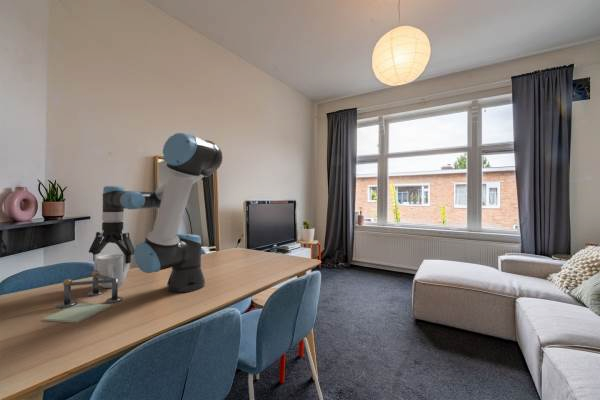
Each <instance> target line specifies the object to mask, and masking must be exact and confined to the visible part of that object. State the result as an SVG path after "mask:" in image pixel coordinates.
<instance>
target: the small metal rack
mask: <svg viewBox="0 0 600 400" xmlns="http://www.w3.org/2000/svg"><path fill="white" fill-rule="evenodd" d="M91 276H92V280H83V281H73V280H72V279H71V278H66V279H64V280H63V282H62V285H63V302H61V303H59V304H57V309H67V308H69V307H72V306H74V305H77V304H78V302H77V301H76V300H72V298H71V297H72V295H71V293H72V292H71V291H72V287H73V286H74V287H75V286H85V285H92V290H91V291H89V292H87V294H86V295H87V297H97V296H100V295H103V294H104V290H102V289H100V290H99V284H100V283H112V288H111V297H109V298H107V299H106V300H105V302H106V303H107V304H115V303H120V302H121V301H123V300H124V298H123V296H121V295H120V296H119V293H118V292H119V286H118V279H115V278H111V277H107V276H104V275H100V274H99V271H97V269H96V270H93V271H92V273H91ZM99 278H100V279H103V280H98V279H99ZM100 285H101V284H100ZM102 293H103V294H102Z"/></svg>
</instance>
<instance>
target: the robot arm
mask: <svg viewBox="0 0 600 400" xmlns="http://www.w3.org/2000/svg"><path fill="white" fill-rule="evenodd" d="M162 157H163V160H164V161H165V162H166V163H167V164H166V166H165V167H166V169H167V170H168V172H169V173H168V177H167V180H166V181H165V182H164V183H163V184H162V185H160V186H159V187H158V188H157V189H154V191H138V190H137V191H136V190H125V188H124V186H117V185H105V186H104V187H103V190H102V195H101V196H102V216H101V221H103V222H102V223H101V231H96V232H95V238H94V239H93V242H92V244H91V245H90V248H89V249H88V253H90V254H92V257H93V258H92V259H93V260H92V261H93V271H96V270H97V257H99V256H102V253H101V252H102V251H103V249H105V248H106V246H107V244H109V243H111V244H115V245H117V246H118V248H119V249H120V251H121V252H122V254H124V255H125V256H123V272H125V271H127V272H128V271H129V270H130V263H131V262H132V255H133V258H134V261H135V264H136V266H137V267H138V269H139V270H140V271H142V272H143V273H146V274H151V273H158V272H159V271H163V270H168V269H171V272H170V275H169V278H168V281H167V285H166V289H167V291H169V292H171V293H189V292H192V291H197V290H200V289H202V288H203V287H204V286H205V285H206V279H205V276H204V273H203V270H202V245H203V244H202V237H201V236H200V234H199V235H198V234H191V233H189V234H188V233H179V229H180V226H181V224H182V220H183V216H184V213H185V211H186V206H187V203H188V201H189V198H190V193H191V190H192V187H193V185H194V184H196V183H197V182H198V181H200V180H201V179H203V178H204V177H205V178H208V177H209V176H211V175H213V174H214V173H215V172H216V171H218V169H219V168H220V166H221V165H222V163H223V152H222V149H221V148H220V147H219V145H218V144H216V143H215V142H214V141H212V140H207V139H204V138H201V137H197V136H195V135H192V134H189V133H185V132H176V133H174V134H172V135H171V136H169V137H168V138H167V139H166V141H165V142H164V144H163V148H162ZM125 209H127V210H139V209H140V210H141V209H158V211H157V214H156V218H155V220H154V221H155V222H154V224H153V228H152V231H150V232H148V233H146V236H145V239H144V241H143V242H140V243H139V242H138V244H137V245H135V246H134V245H133V241H132V240H131V238H130V233H129V232H124V233H123V230H124V222H123V221H124V218H125V217H124V214H125Z"/></svg>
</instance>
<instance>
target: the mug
mask: <svg viewBox="0 0 600 400" xmlns="http://www.w3.org/2000/svg"><path fill="white" fill-rule="evenodd" d="M123 256H125V255H124V253H110V254H109V253H108V254H104V255H101V256H99V257H97V269H96V270H97V271H99V274H100V275H104V276H107V277H111V278H115V279H118V287H120V286H121V285H122V284H123V283H124V282H125V280H126V276H127V273H128V270H127V271H125V272H123ZM98 280H103V279H100V278H99V279H98ZM100 285H101V287H102V288H104V289H112V283H100Z"/></svg>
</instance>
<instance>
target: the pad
mask: <svg viewBox="0 0 600 400" xmlns="http://www.w3.org/2000/svg"><path fill="white" fill-rule="evenodd" d="M111 306H112V305H111V304H105V303H104V304H102V303H101V304H99V303H85V302H84V303H83V302H79V303H77V304H76V305H74V306H71V307H67V308H64V309H63V310H62V309H61V310H60V311H58V312H55V313H52V314H50V315H48V316H45V317H43V318H42V321H43V322H59V323H73V324H79V323H80V322H82V321H84V320H86V319H88V318H90V317H92V316H95V315H97V314H99V313H100V312H103V311H105V310H107V309H108V308H111Z"/></svg>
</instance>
